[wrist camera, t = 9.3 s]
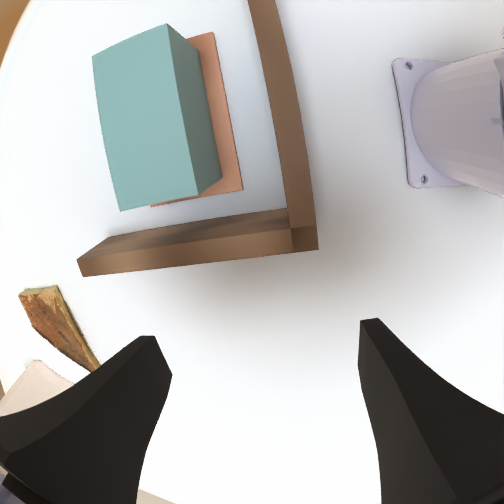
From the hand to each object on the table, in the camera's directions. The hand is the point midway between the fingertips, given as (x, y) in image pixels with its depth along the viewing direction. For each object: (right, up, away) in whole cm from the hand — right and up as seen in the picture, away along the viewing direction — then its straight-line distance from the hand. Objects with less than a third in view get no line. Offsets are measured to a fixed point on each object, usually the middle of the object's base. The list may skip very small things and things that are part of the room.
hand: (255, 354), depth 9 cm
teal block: (-4, +11, +6) cm, 13 cm away
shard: (-19, -3, +15) cm, 24 cm away
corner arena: (-4, +11, +6) cm, 14 cm away
